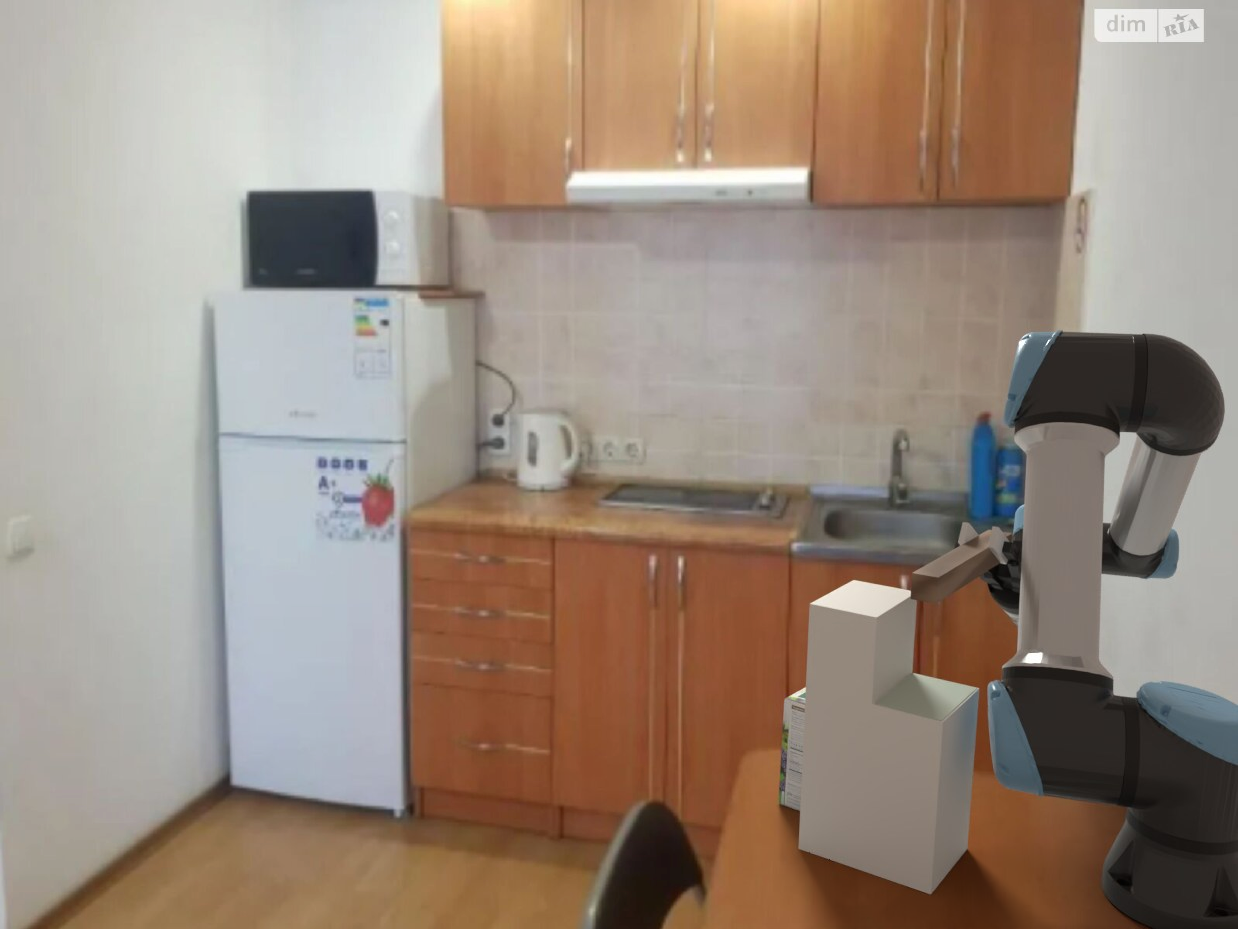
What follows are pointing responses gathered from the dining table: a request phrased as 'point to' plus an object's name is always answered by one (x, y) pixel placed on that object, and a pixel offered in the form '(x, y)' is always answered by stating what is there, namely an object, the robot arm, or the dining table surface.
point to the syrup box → (792, 750)
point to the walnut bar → (954, 569)
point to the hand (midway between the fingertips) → (978, 535)
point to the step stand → (882, 743)
